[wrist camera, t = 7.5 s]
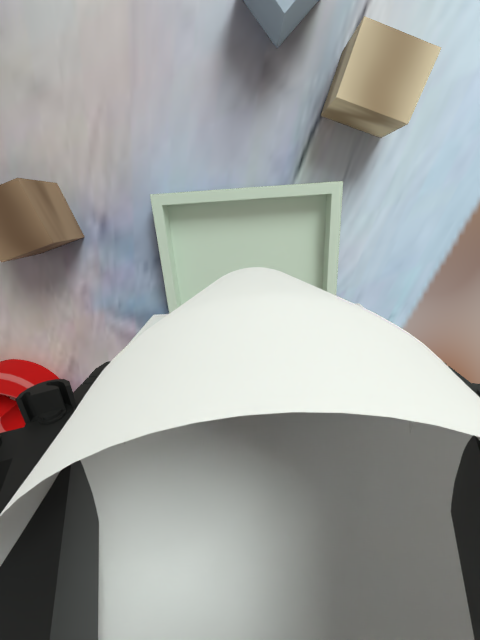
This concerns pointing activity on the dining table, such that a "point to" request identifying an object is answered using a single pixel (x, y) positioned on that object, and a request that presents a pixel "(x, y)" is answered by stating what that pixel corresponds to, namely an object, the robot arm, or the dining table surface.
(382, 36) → the oak block
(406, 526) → the cup
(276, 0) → the slate blue block
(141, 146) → the dining table surface
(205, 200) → the tray
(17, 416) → the decorative ornament
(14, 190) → the walnut block
